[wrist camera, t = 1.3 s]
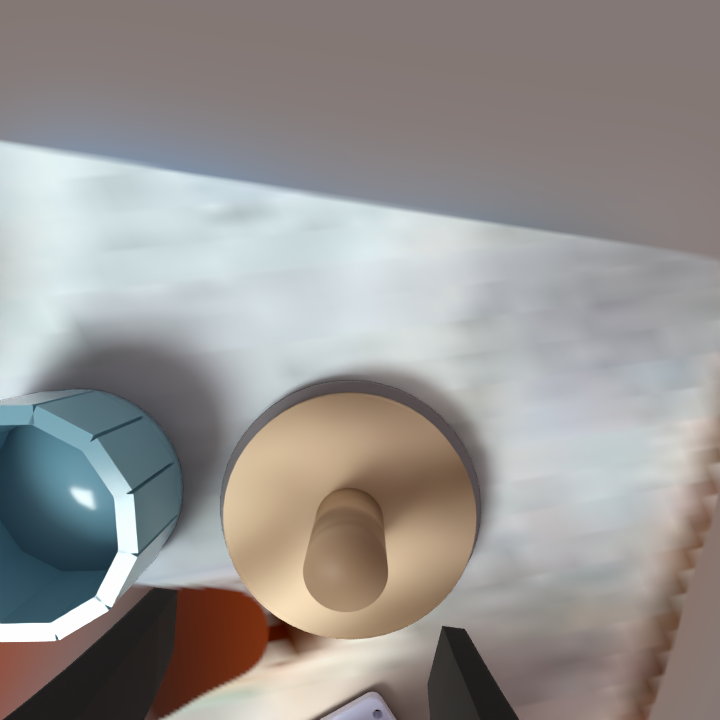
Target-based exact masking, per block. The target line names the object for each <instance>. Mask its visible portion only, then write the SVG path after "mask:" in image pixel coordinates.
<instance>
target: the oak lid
mask: <svg viewBox="0 0 720 720" xmlns="http://www.w3.org/2000/svg"><path fill="white" fill-rule="evenodd" d="M223 525H224V533H225V540H226V544H227V548H228V551H229V555H230V557H231V560H232V562H233V565H234V567H235V569H236V571H237V573H238V574H239V576H240V578H241V580H242V581H243V583H244V584H245V586H246V587H247V588H248V590H249V591H250V592H251V593H252V595H253V596H254V597H255V598H256V599H257V600H258V601H259V602H260V603H261V604H262V605H263V606H264V607H265V608H266V609H268V610H269V611H270V612H272V613H273V614H274V615H275V616H277V617H278V618H280V619H282V620H283V621H285V622H287V623H288V624H290V625H292V626H294V627H297V628H299V629H301V630H304V631H306V632H309V633H313V634H316V635H319V636H324V637H330V638H336V639H363V638H372V637H377V636H381V635H386V634H389V633H392V632H395V631H397V630H400V629H402V628H404V627H407V626H409V625H411V624H413V623H415V622H416V621H418V620H419V619H421V618H422V617H424V616H425V615H427V614H428V613H430V612H431V611H432V610H433V609H434V608H435V607H437V606H438V605H439V604H440V603H441V602H442V601H443V600H444V599H445V597H446V596H447V595H448V594H449V593H450V592H451V591H452V589H453V588H454V586H455V585H456V583H457V582H458V580H459V579H460V577H461V575H462V573H463V571H464V569H465V567H466V565H467V563H468V560H469V557H470V554H471V551H472V548H473V543H474V538H475V532H476V505H475V498H474V493H473V489H472V485H471V482H470V479H469V476H468V474H467V471H466V469H465V467H464V465H463V463H462V461H461V459H460V457H459V456H458V454H457V453H456V451H455V450H454V448H453V447H452V446H451V444H450V443H449V441H448V440H447V439H446V437H445V436H444V435H443V434H442V433H441V432H440V431H439V430H438V429H437V427H436V426H435V425H434V424H432V423H431V422H430V421H429V420H427V419H426V418H425V417H424V416H423V415H421V414H420V413H418V412H416V411H415V410H413V409H412V408H410V407H408V406H406V405H404V404H402V403H400V402H397V401H395V400H393V399H389V398H386V397H383V396H380V395H375V394H369V393H363V392H339V393H329V394H325V395H320V396H316V397H313V398H310V399H307V400H305V401H302V402H299V403H297V404H295V405H293V406H292V407H290V408H288V409H286V410H284V411H283V412H282V413H280V414H279V415H277V416H276V417H274V418H273V419H272V420H271V421H270V422H269V423H268V424H266V425H265V426H264V427H263V428H262V429H261V430H260V431H259V432H258V433H257V434H256V435H255V436H254V438H253V439H252V440H251V441H250V442H249V444H248V445H247V446H246V447H245V449H244V450H243V452H242V454H241V455H240V457H239V459H238V460H237V462H236V464H235V466H234V469H233V471H232V473H231V475H230V479H229V482H228V485H227V489H226V493H225V500H224V507H223Z"/></svg>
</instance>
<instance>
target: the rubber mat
mask: <svg viewBox="0 0 720 720" xmlns="http://www.w3.org/2000/svg"><path fill="white" fill-rule="evenodd" d="M339 392H363V393H369V394H375V395H380V396H383V397H386V398H389V399H393V400H395V401H397V402H400V403H402V404H404V405H406V406H408V407H410V408H412V409H413V410H415V411H416V412H418V413H420V414H421V415H423V416H424V417H425V418H426V419H427V420H429V421H430V422H431V423H432V424H434V425H435V426H436V427H437V429H438V430H439V431H440V432H441V433H442V434H443V435H444V436H445V437H446V439H447V440H448V441H449V443H450V444H451V446H452V447H453V448H454V450H455V451H456V453H457V454H458V456H459V457H460V459H461V461H462V463H463V465H464V467H465V469H466V471H467V474H468V476H469V479H470V482H471V485H472V489H473V493H474V498H475V505H476V532H475V538H474V543H473V548H472V551H471V554H470V557H471V555H472V552H473V549H474V546H475V544H476V541H477V536H478V531H479V526H480V514H481V502H480V490H479V485H478V481H477V476H476V473H475V470H474V467H473V464H472V462H471V459H470V457H469V455H468V453H467V451H466V449H465V447H464V445H463V444H462V442H461V441H460V439H459V438H458V437H457V435H456V434H455V432H454V431H453V430H452V428H451V427H450V426H449V425H448V424H447V423H446V422H445V421H444V420H443V419H442V418H441V417H440V415H438V414H437V413H436V412H435V411H433V410H432V409H431V408H430V407H429V406H427V405H426V404H425V403H423V402H421V401H420V400H418V399H417V398H415V397H413V396H412V395H409V394H407V393H405V392H403V391H401V390H398V389H396V388H393V387H389V386H386V385H383V384H379V383H373V382H367V381H354V380H343V381H332V382H326V383H322V384H317V385H313V386H310V387H307V388H305V389H302V390H299V391H297V392H295V393H293V394H291V395H289V396H287V397H285V398H283V399H282V400H280V401H279V402H277V403H276V404H275V405H273V406H272V407H270V408H269V409H268V410H267V411H265V412H264V413H263V414H262V415H261V416H260V417H259V418H258V419H257V420H256V421H255V422H254V423H253V424H252V425H251V426H250V428H249V429H248V430H247V431H246V432H245V434H244V435H243V436H242V438H241V439H240V441H239V443H238V444H237V446H236V448H235V449H234V451H233V453H232V456H231V458H230V460H229V463H228V465H227V468H226V472H225V475H224V478H223V483H222V490H221V497H220V516H221V524H222V531H223V535H224V538H225V533H224V525H223V507H224V500H225V493H226V489H227V485H228V482H229V479H230V475H231V473H232V471H233V469H234V466H235V464H236V462H237V460H238V459H239V457H240V455H241V454H242V452H243V450H244V449H245V447H246V446H247V445H248V444H249V442H250V441H251V440H252V439H253V438H254V436H255V435H256V434H257V433H258V432H259V431H260V430H261V429H262V428H263V427H264V426H265V425H266V424H268V423H269V422H270V421H271V420H272V419H273V418H274V417H276V416H277V415H279V414H280V413H282V412H283V411H284V410H286V409H288V408H290V407H292V406H293V405H295V404H297V403H299V402H302V401H305V400H307V399H310V398H313V397H316V396H320V395H325V394H329V393H339ZM225 542H226V540H225ZM226 546H227V544H226ZM470 557H469V559H470ZM468 561H469V560H468Z"/></svg>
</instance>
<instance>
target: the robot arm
mask: <svg viewBox="0 0 720 720" xmlns="http://www.w3.org/2000/svg"><path fill="white" fill-rule="evenodd" d="M176 606H177V591H176V590H168V589H161V588H153V589H152V590H150V591H149V592H148V593H147V594H146V595H145V596H144V597H143V598H142V599H141V600H140V601H139V602H138V603H137V604H136V605H135V606H134V607H133V608H132V609H131V610H130V611H129V612H128V613H127V614H126V615H125V616H124V617H122V618H121V619H120V620H119V621H118V622H117V623H116V624H115V625H114V626H113V627H112V628H111V629H110V630H108V631H107V632H106V633H105V634H104V635H103V636H102V637H101V638H100V639H99V640H97V641H96V642H95V643H94V644H93V645H92V646H91V647H90V648H89V649H87V650H86V651H85V652H84V653H83V654H82V655H81V656H80V657H79V658H77V659H76V660H75V661H74V662H73V663H72V664H71V665H69V666H68V667H67V668H66V669H65V670H63V672H61V673H60V674H59V675H57V676H56V677H55V678H54V679H53V680H51V681H50V682H49V683H48V684H47V685H45V686H44V687H43V688H42V689H41V690H39V691H38V692H37V693H36V694H35V695H33V696H32V697H31V698H30V699H28V700H27V701H26V702H25V703H23V704H22V705H21V706H20V707H18V708H17V709H16V710H15V711H13V712H12V713H11V714H10V715H8V716H7V717H6V718H4V719H3V720H144V719H145V717H146V715H147V713H148V711H149V709H150V707H151V705H152V703H153V701H154V699H155V696H156V694H157V692H158V689H159V687H160V685H161V682H162V680H163V677H164V675H165V672H166V670H167V667H168V665H169V662H170V659H171V657H172V654H173V652H174V637H175V622H176ZM428 697H429V709H430V719H431V720H519V719H518V717H517V715H516V714H515V712H514V711H513V709H512V708H511V706H510V704H509V703H508V701H507V700H506V698H505V696H504V695H503V693H502V692H501V690H500V688H499V687H498V685H497V683H496V682H495V680H494V678H493V677H492V675H491V673H490V672H489V670H488V668H487V666H486V665H485V663H484V661H483V660H482V658H481V656H480V654H479V653H478V651H477V649H476V647H475V646H474V644H473V642H472V640H471V639H470V637H469V635H468V634H467V632H466V631H465V629H461V628H453V627H446V626H442V630H441V634H440V638H439V641H438V645H437V649H436V653H435V657H434V661H433V665H432V669H431V673H430V677H429V680H428ZM377 709H378V710H381V711H378V712H377V711H375V710H377ZM320 720H396V718H395V717H394V715H393V714H392V712H391V711H390V709H389V708H388V706H387V705H386V703H385V702H384V700H383V699H382V697H381V696H380V695H379V694H378V693H376V692H368V693H366V694H365V695H363V696H361V697H359V698H357V699H356V700H354V701H352V702H350V703H348V704H347V705H345V706H343V707H341V708H340V709H338V710H336V711H334V712H332V713H331V714H329V715H327V716H325V717H324V718H322V719H320Z"/></svg>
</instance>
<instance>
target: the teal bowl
mask: <svg viewBox="0 0 720 720" xmlns="http://www.w3.org/2000/svg"><path fill="white" fill-rule="evenodd" d="M182 499H183V479H182V472H181V467H180V464H179V460H178V457H177V455H176V452H175V450H174V448H173V445H172V444H171V442H170V440H169V439H168V437H167V435H166V434H165V433H164V431H163V430H162V429H161V427H160V426H159V425H158V424H157V423H156V422H155V421H154V420H153V419H152V418H151V417H150V416H149V415H148V414H147V413H146V412H144V411H143V410H142V409H141V408H139V407H138V406H136V405H134V404H133V403H131V402H129V401H128V400H126V399H123V398H121V397H119V396H117V395H114V394H110V393H107V392H104V391H98V390H92V389H69V390H62V391H43V392H38V393H33V394H28V395H23V396H18V397H13V398H8V399H3V400H0V642H20V641H21V642H23V641H56V640H57V639H58V638H59V639H62V638H64V637H65V636H67V635H69V634H70V633H72V632H74V631H75V630H77V629H79V628H80V627H82V626H84V625H85V624H87V623H89V622H90V621H92V620H94V619H95V618H97V617H99V616H100V615H102V614H104V613H105V612H107V611H109V610H110V608H111V607H112V606H113V605H114V604H115V603H116V602H117V601H118V600H119V599H120V597H121V596H122V595H123V594H124V593H125V592H126V591H127V590H128V589H129V587H130V586H131V585H132V584H133V583H134V582H135V581H136V580H137V579H138V577H139V576H140V575H141V574H142V573H143V572H144V571H145V570H146V569H147V567H148V566H149V565H150V564H151V563H152V562H153V561H154V560H155V559H156V557H157V555H158V553H159V551H160V549H161V547H162V546H163V545H164V543H165V542H166V541H167V540H168V538H169V536H170V535H171V533H172V531H173V530H174V527H175V525H176V523H177V520H178V518H179V514H180V510H181V506H182Z"/></svg>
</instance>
